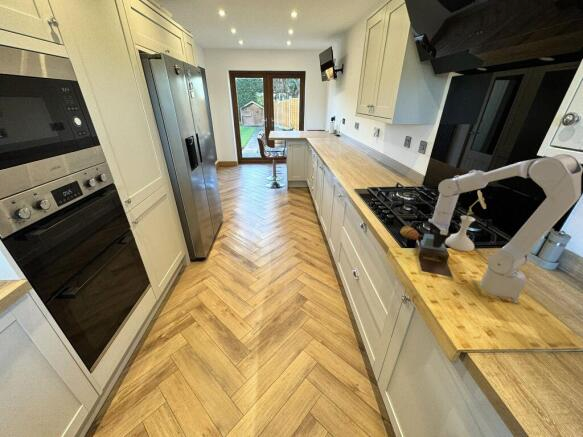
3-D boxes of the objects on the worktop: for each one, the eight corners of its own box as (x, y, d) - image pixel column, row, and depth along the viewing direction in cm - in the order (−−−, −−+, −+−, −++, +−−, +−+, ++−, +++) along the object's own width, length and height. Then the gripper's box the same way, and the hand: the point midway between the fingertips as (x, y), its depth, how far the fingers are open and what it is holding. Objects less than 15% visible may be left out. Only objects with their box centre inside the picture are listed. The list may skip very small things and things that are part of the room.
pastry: (424, 241, 106) (426, 233, 104) (412, 243, 104) (414, 236, 102) (408, 231, 114) (410, 224, 112) (397, 233, 112) (399, 226, 110)
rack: (440, 252, 98) (445, 239, 95) (452, 279, 82) (457, 265, 80) (414, 247, 101) (418, 234, 98) (420, 273, 85) (425, 259, 82)
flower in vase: (468, 257, 94) (492, 199, 83) (437, 245, 102) (456, 191, 91) (477, 246, 102) (500, 191, 91) (448, 235, 110) (466, 184, 99)
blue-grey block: (442, 245, 94) (445, 236, 92) (444, 251, 90) (448, 241, 89) (420, 242, 96) (423, 233, 94) (422, 247, 93) (424, 237, 91)
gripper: (428, 202, 94) (420, 231, 100) (435, 217, 81) (425, 249, 87) (448, 204, 92) (439, 234, 98) (459, 220, 79) (447, 253, 85)
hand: (434, 242), depth 92 cm, fingers open, 7 cm apart
